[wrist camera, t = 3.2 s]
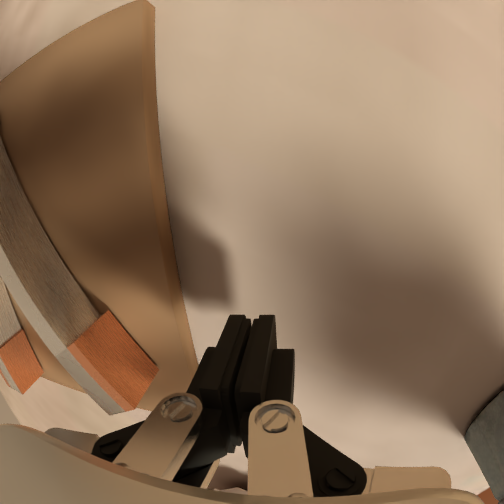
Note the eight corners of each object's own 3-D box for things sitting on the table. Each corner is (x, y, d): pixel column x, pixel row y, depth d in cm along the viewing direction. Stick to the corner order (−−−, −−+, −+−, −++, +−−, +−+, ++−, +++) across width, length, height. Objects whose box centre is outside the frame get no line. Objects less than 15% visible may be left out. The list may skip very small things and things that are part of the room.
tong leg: (-21, 131, 11) (-54, 136, 8) (-5, 96, 10) (-40, 97, 7) (128, 381, 14) (104, 416, 12) (159, 369, 14) (134, 409, 11)
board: (-27, 117, 12) (-38, 118, 11) (154, 7, 9) (143, -3, 8) (30, 361, 19) (23, 368, 18) (209, 406, 16) (204, 420, 15)
